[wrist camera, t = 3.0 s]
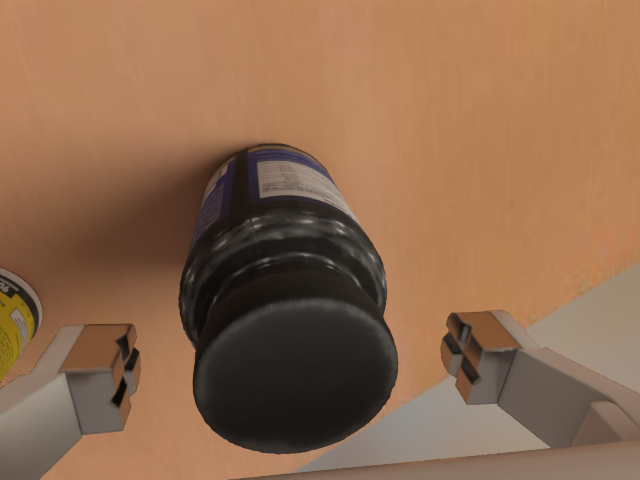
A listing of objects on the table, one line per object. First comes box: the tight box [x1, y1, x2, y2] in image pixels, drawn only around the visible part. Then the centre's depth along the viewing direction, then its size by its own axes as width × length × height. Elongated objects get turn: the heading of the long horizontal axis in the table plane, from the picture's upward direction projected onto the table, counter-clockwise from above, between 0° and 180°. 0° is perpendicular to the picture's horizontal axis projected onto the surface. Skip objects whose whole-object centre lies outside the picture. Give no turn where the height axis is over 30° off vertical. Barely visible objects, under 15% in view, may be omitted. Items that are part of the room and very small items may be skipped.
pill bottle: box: [178, 144, 398, 454], centre depth 14 cm, size 6×6×11 cm
